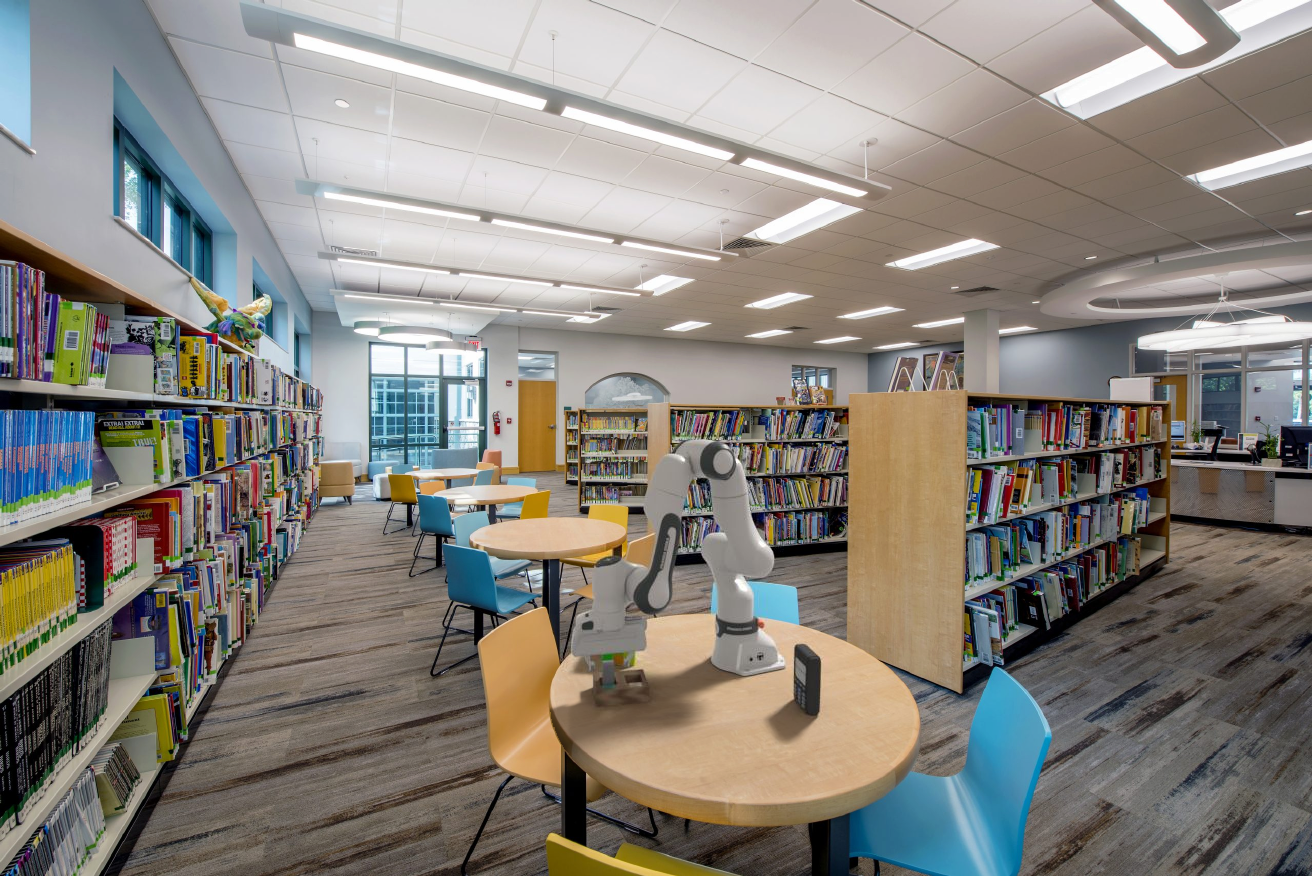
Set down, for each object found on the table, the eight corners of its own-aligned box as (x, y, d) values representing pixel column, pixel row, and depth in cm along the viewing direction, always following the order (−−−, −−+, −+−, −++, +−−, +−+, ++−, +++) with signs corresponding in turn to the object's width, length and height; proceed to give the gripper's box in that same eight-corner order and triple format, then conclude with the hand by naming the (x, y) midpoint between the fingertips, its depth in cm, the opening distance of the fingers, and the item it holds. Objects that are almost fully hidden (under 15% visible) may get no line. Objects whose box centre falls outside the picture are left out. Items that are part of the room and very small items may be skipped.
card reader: (790, 697, 143) (792, 643, 142) (804, 696, 144) (806, 642, 143) (806, 716, 134) (807, 658, 133) (821, 715, 135) (822, 657, 134)
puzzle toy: (638, 651, 170) (639, 620, 170) (634, 666, 160) (634, 633, 160) (608, 649, 171) (608, 619, 171) (601, 664, 161) (602, 631, 161)
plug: (612, 692, 145) (613, 659, 144) (614, 698, 142) (614, 665, 141) (601, 693, 144) (602, 660, 144) (602, 699, 141) (603, 665, 141)
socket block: (642, 683, 150) (642, 668, 150) (649, 701, 140) (649, 686, 140) (593, 687, 147) (593, 672, 147) (596, 706, 137) (596, 690, 137)
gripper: (645, 610, 147) (645, 659, 148) (570, 616, 144) (571, 666, 144) (649, 619, 141) (649, 670, 142) (571, 625, 137) (571, 677, 138)
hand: (609, 668), depth 143 cm, fingers open, 8 cm apart
